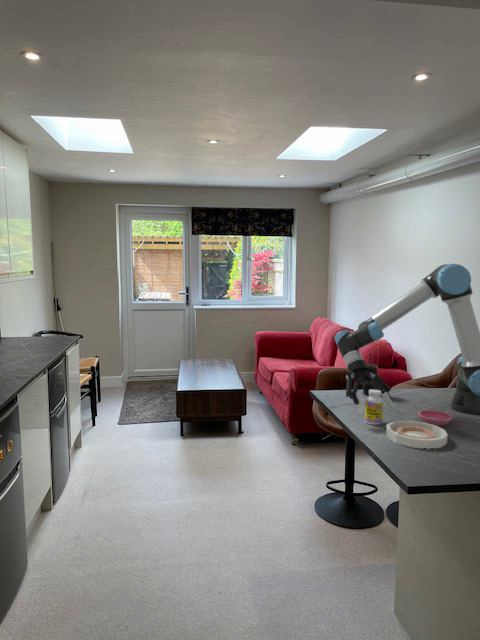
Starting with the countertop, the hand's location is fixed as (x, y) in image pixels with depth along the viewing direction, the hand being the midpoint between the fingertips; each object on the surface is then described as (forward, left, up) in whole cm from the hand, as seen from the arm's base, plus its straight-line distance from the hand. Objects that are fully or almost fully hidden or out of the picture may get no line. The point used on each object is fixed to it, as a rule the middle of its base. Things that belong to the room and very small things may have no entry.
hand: (377, 409), depth 179 cm
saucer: (-23, -10, -6) cm, 26 cm away
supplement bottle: (+1, -2, -6) cm, 6 cm away
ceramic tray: (-13, +11, -6) cm, 18 cm away
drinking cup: (+1, -44, -6) cm, 44 cm away
